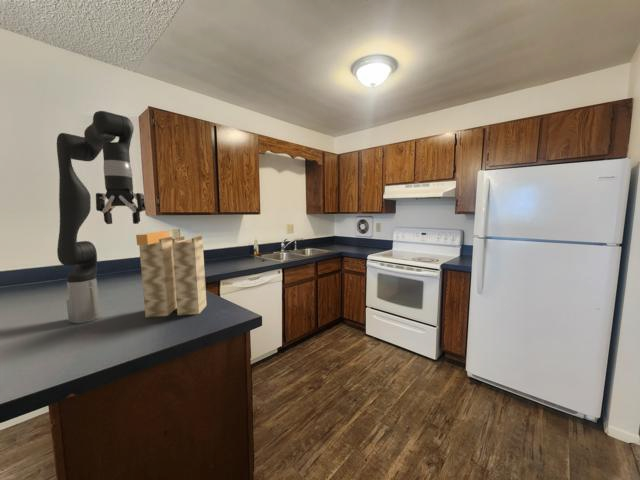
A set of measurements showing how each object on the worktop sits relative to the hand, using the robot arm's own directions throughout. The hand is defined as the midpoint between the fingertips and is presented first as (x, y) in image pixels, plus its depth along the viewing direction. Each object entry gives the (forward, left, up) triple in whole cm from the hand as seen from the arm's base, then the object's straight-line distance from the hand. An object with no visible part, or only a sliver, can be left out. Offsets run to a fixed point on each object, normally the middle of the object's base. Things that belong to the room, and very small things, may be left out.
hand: (122, 223), depth 91 cm
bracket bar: (-1, +23, -9) cm, 25 cm away
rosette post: (-1, +25, -41) cm, 48 cm away
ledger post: (+12, +25, -41) cm, 49 cm away
